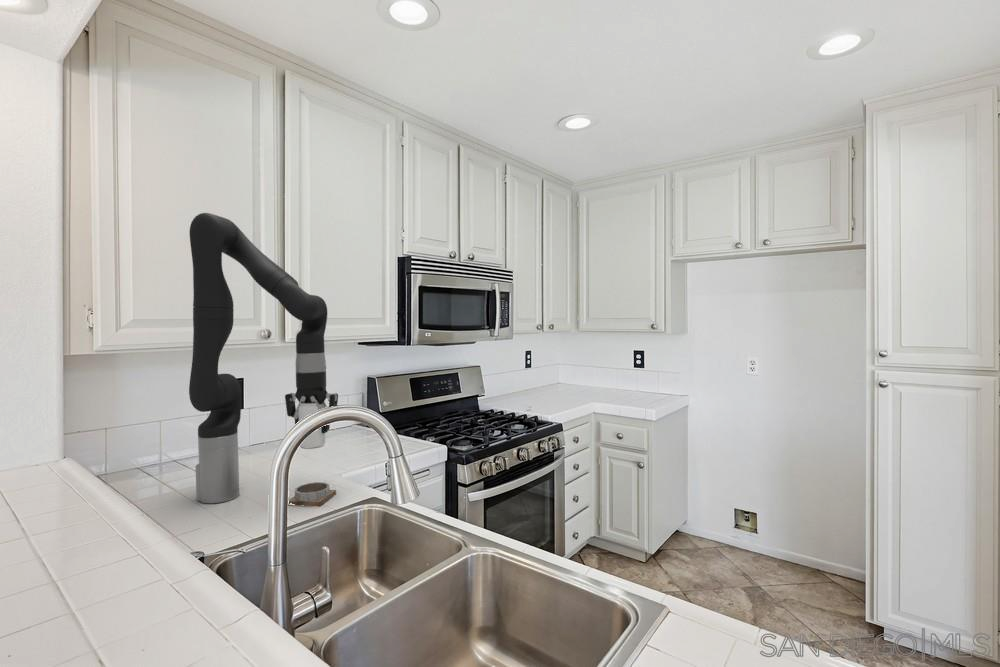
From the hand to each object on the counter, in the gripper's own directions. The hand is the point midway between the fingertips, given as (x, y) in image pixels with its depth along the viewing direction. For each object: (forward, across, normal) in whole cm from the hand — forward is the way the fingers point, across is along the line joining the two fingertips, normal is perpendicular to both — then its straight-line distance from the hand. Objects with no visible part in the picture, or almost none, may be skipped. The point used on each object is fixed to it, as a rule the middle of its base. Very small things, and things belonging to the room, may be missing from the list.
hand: (312, 432), depth 130 cm
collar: (+16, 0, -1) cm, 17 cm away
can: (+4, 0, 0) cm, 4 cm away
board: (+18, 0, -2) cm, 18 cm away
